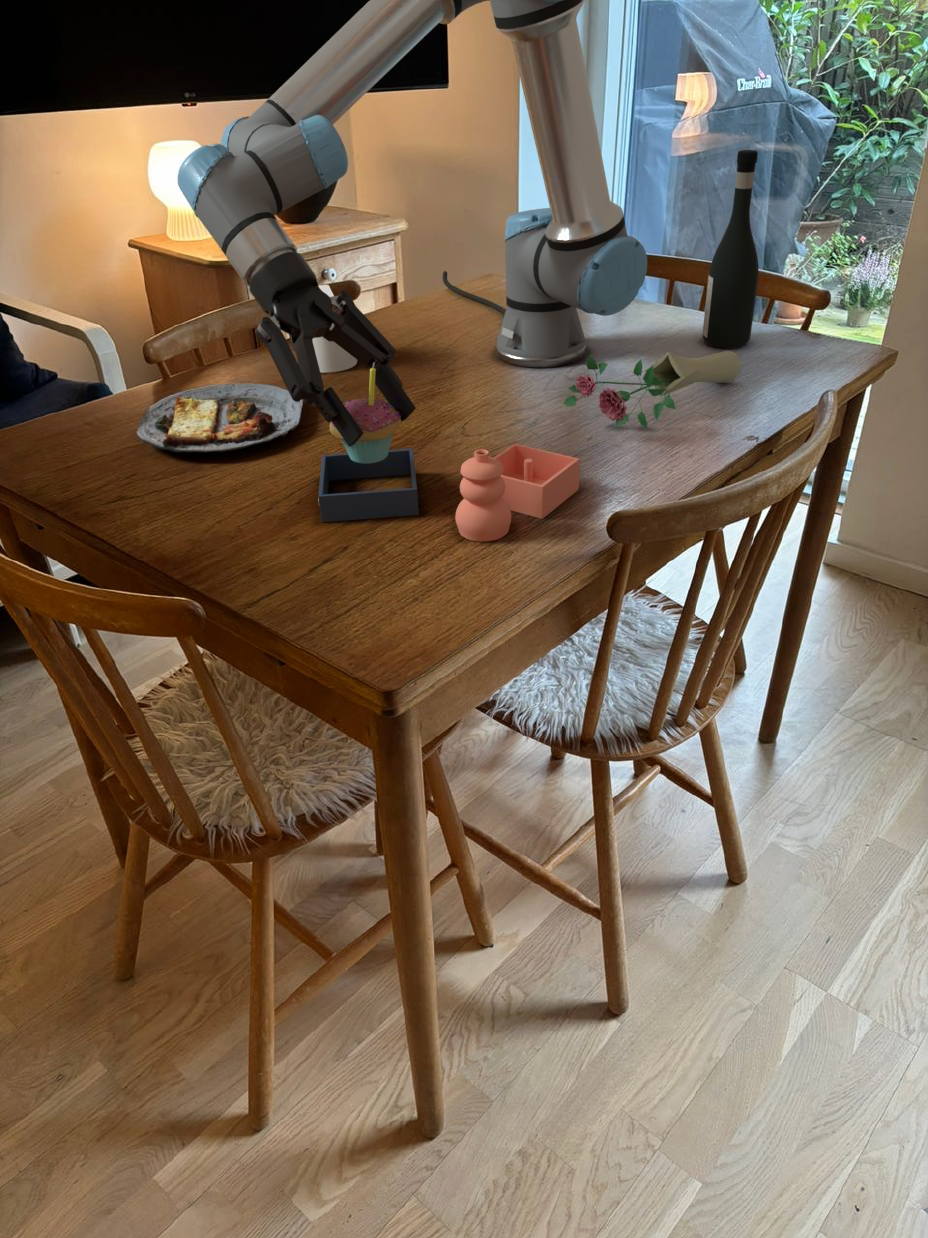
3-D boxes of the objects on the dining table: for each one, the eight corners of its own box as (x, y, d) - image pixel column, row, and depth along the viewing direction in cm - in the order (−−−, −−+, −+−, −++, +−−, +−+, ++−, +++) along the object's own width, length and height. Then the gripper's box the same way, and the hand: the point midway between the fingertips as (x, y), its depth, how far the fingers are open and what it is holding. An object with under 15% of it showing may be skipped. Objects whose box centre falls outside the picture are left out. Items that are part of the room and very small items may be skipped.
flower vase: (730, 435, 150) (609, 464, 125) (670, 395, 155) (543, 415, 130) (768, 367, 143) (649, 383, 118) (705, 328, 148) (577, 335, 123)
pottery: (514, 473, 124) (513, 401, 119) (578, 489, 120) (581, 415, 114) (434, 531, 112) (429, 454, 106) (502, 551, 107) (500, 472, 102)
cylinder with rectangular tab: (361, 368, 160) (353, 296, 153) (307, 375, 158) (298, 302, 152) (353, 352, 167) (345, 282, 161) (302, 358, 166) (292, 287, 159)
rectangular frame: (324, 479, 125) (321, 454, 123) (414, 472, 125) (412, 448, 123) (321, 522, 115) (317, 496, 113) (419, 515, 115) (417, 489, 114)
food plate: (296, 458, 131) (293, 434, 129) (126, 469, 130) (120, 445, 128) (308, 393, 151) (305, 371, 149) (161, 402, 151) (156, 380, 149)
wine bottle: (693, 344, 163) (712, 152, 147) (715, 332, 168) (736, 145, 152) (736, 353, 159) (760, 156, 142) (757, 340, 164) (784, 148, 147)
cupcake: (412, 445, 119) (405, 351, 112) (387, 474, 113) (378, 376, 106) (349, 439, 122) (338, 346, 115) (321, 467, 115) (308, 371, 108)
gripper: (326, 269, 122) (427, 414, 122) (191, 311, 109) (305, 474, 109) (350, 230, 116) (456, 383, 116) (211, 270, 103) (331, 441, 103)
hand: (383, 426), depth 113 cm, fingers closed on cupcake, 8 cm apart
